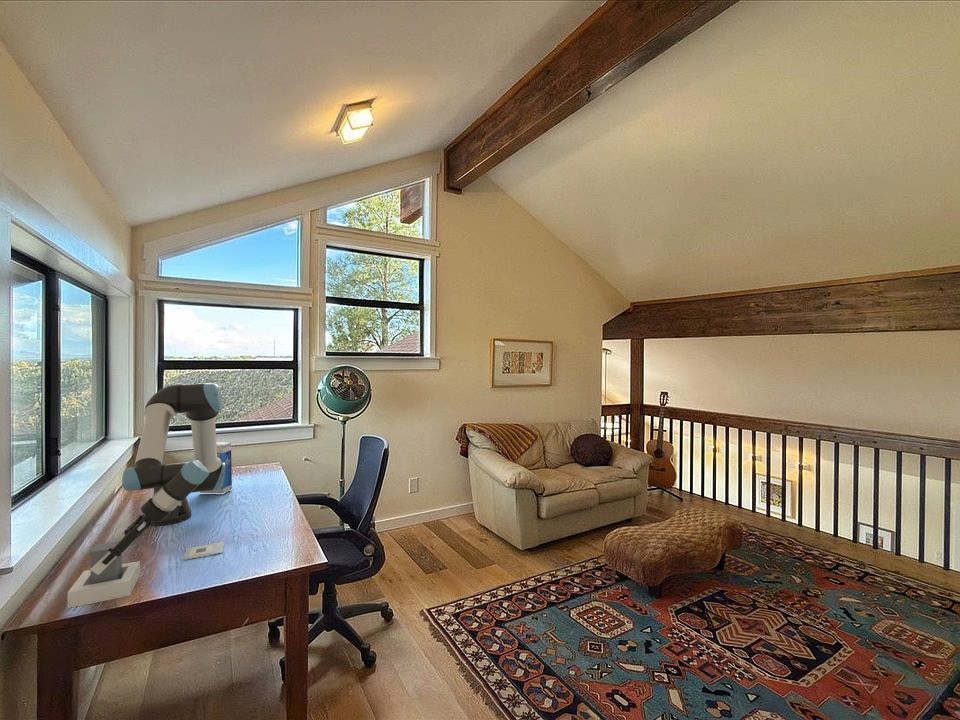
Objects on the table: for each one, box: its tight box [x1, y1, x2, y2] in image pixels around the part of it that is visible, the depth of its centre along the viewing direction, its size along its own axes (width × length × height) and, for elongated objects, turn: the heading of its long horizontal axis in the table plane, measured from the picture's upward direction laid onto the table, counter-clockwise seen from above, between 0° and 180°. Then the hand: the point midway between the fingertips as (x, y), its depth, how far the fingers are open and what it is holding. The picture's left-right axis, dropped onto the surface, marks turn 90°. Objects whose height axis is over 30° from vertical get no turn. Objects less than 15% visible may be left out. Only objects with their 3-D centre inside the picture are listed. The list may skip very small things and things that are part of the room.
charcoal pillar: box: [89, 540, 123, 584], centre depth 133 cm, size 6×6×12 cm
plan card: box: [182, 541, 225, 561], centre depth 160 cm, size 10×12×1 cm
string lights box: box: [199, 441, 233, 494], centre depth 227 cm, size 13×8×26 cm, turn 84°
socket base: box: [67, 560, 141, 609], centre depth 133 cm, size 14×14×4 cm
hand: (101, 562), depth 133 cm, fingers open, 13 cm apart
